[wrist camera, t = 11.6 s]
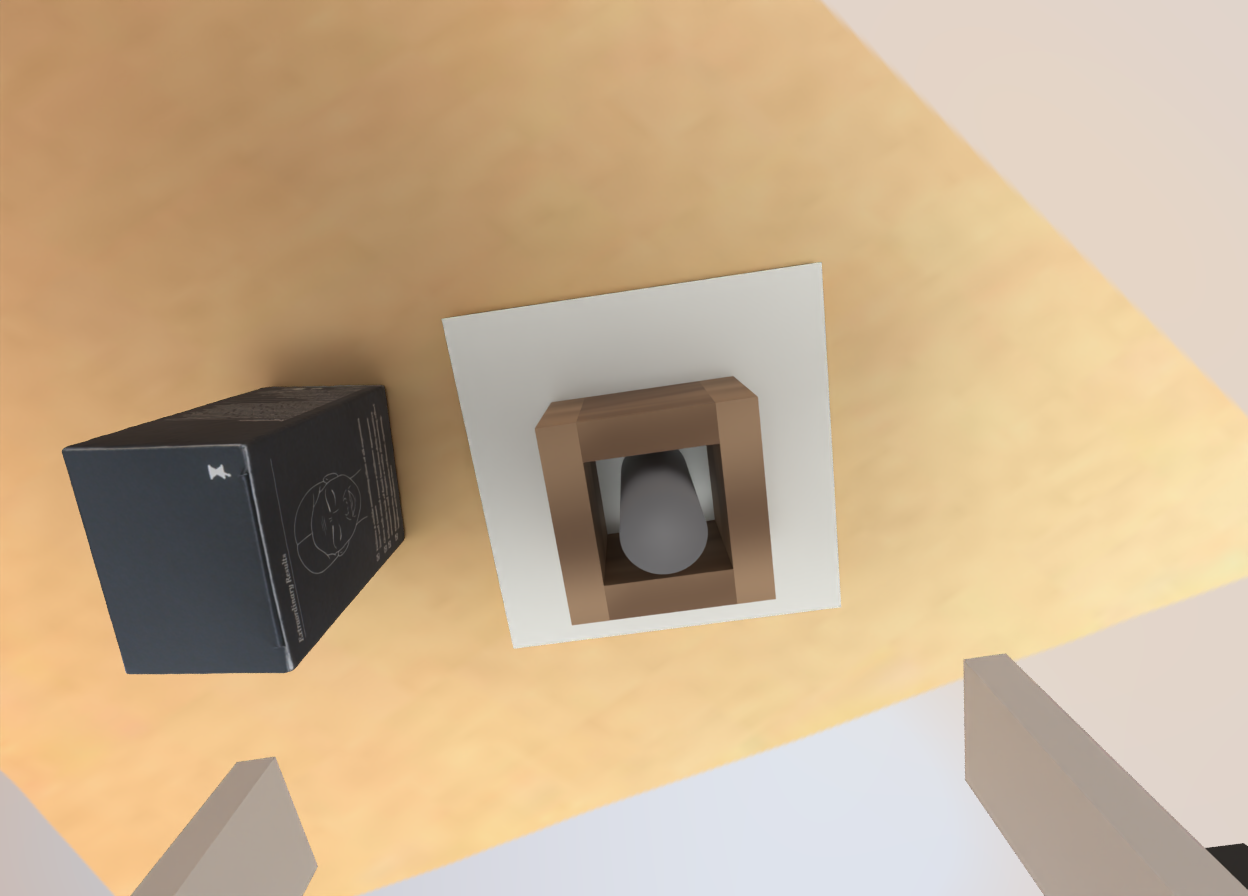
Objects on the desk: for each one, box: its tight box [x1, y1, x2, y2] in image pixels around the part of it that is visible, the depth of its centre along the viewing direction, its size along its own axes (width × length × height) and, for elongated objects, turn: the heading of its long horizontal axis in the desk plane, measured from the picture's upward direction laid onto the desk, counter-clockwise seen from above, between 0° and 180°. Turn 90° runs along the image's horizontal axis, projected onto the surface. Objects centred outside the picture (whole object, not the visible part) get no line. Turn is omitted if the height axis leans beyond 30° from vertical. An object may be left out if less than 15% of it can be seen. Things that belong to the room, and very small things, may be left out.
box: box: [62, 385, 404, 674], centre depth 23 cm, size 8×6×11 cm
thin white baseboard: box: [442, 262, 841, 648], centre depth 24 cm, size 16×16×8 cm
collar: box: [535, 376, 776, 625], centre depth 25 cm, size 8×8×5 cm
